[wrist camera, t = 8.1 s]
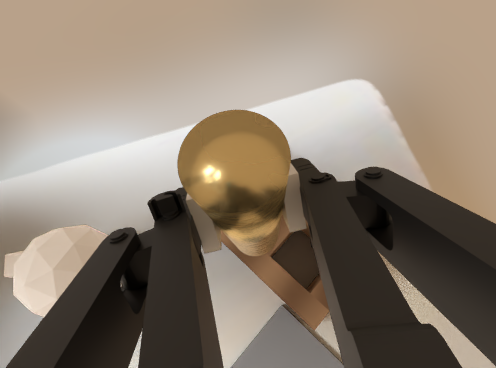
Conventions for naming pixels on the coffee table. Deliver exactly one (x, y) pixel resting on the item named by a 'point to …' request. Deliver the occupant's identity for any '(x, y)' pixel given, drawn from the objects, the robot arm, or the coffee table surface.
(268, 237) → the brass peg
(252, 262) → the walnut hole block
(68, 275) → the beige faceted ovoid
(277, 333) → the slate rubber mat
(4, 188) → the coffee table surface
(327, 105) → the coffee table surface
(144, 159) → the coffee table surface
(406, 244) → the robot arm
